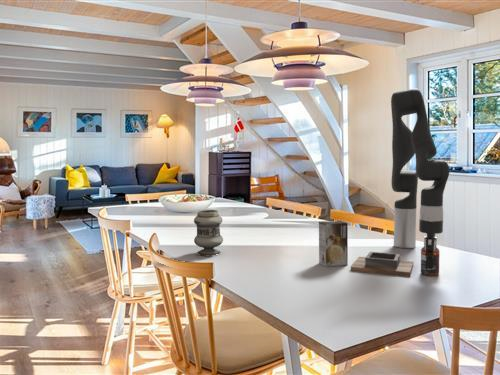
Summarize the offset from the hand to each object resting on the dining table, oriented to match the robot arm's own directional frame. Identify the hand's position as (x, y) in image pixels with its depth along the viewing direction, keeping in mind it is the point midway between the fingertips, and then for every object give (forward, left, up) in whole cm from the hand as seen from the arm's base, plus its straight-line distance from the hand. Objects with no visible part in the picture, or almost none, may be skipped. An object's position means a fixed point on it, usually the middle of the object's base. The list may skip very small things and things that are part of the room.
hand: (429, 265), depth 158 cm
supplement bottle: (0, 0, -3) cm, 3 cm away
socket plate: (-2, -16, -3) cm, 16 cm away
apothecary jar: (+1, -86, -3) cm, 86 cm away
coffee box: (-1, -34, -3) cm, 34 cm away
